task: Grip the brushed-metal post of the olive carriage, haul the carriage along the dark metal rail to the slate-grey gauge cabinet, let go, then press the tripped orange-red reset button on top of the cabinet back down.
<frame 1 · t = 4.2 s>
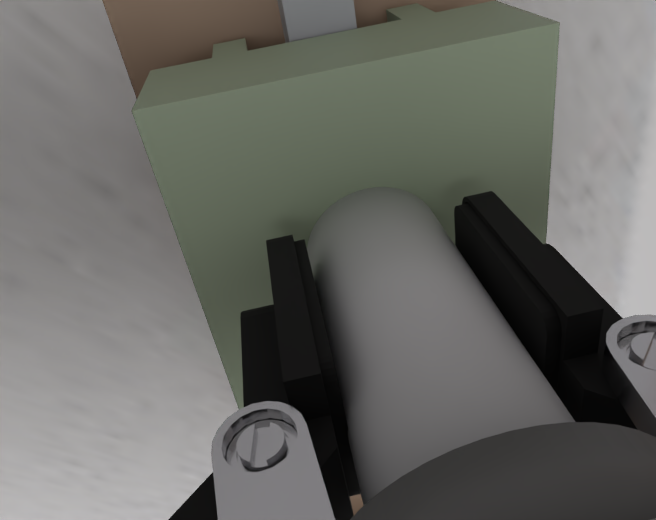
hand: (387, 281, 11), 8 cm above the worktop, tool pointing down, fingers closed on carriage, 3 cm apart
carriage: (395, 297, 11), point 9 cm above the worktop, slide at 14.0 cm, touching gripper
rail stand: (356, 310, 22), on the worktop
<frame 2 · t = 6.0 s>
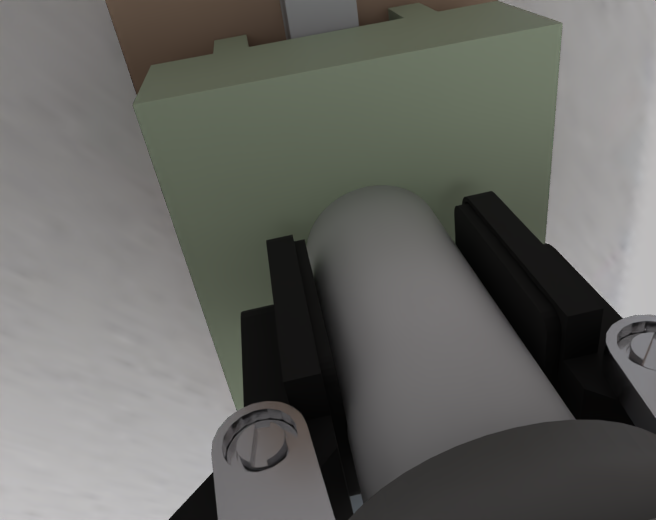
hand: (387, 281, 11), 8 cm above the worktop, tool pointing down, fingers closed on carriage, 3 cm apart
carriage: (395, 296, 11), point 9 cm above the worktop, slide at 5.7 cm, touching gripper
rail stand: (320, 100, 17), on the worktop
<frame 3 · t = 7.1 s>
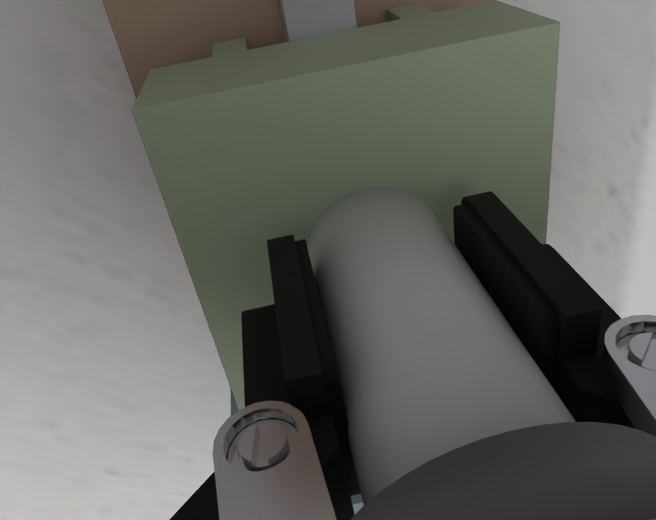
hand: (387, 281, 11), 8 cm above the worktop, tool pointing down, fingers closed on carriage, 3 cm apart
carriage: (395, 297, 11), point 9 cm above the worktop, slide at 0.6 cm, touching gripper
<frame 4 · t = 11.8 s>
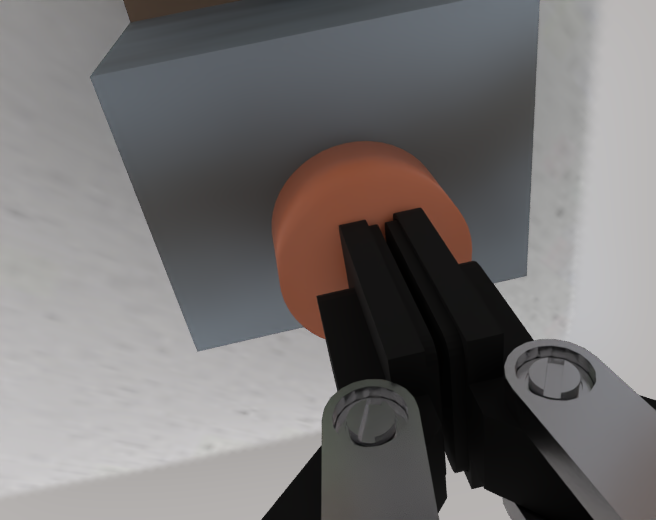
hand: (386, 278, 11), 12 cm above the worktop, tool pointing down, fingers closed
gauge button: (366, 245, 12), point 11 cm above the worktop, slide at 1.3 cm, touching gripper
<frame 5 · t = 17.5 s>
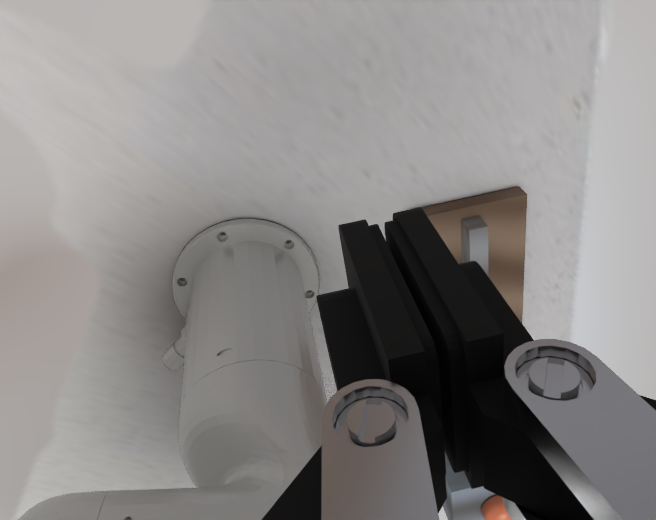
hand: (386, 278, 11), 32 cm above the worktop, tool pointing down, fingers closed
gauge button: (503, 514, 58), point 9 cm above the worktop, slide at -0.1 cm
rail stand: (467, 330, 56), on the worktop
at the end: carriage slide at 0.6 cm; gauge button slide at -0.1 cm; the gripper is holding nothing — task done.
